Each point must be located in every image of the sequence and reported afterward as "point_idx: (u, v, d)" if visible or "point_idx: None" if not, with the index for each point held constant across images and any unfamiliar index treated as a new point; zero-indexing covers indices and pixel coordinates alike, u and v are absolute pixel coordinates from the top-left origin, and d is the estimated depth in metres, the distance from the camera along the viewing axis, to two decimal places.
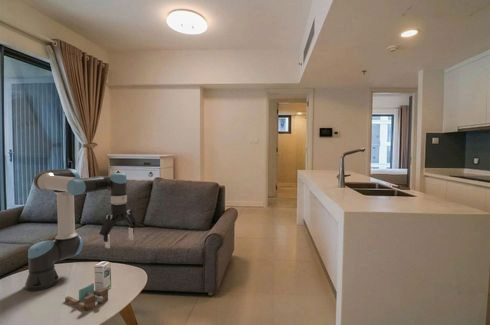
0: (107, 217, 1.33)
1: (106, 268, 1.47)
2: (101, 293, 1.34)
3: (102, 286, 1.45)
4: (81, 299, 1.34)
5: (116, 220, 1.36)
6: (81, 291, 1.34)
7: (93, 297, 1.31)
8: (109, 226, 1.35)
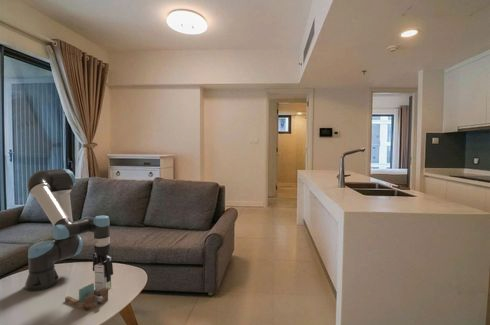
0: None
1: None
2: (101, 293, 1.34)
3: (102, 286, 1.45)
4: (81, 299, 1.34)
5: (97, 260, 1.47)
6: (81, 291, 1.34)
7: (93, 297, 1.31)
8: None
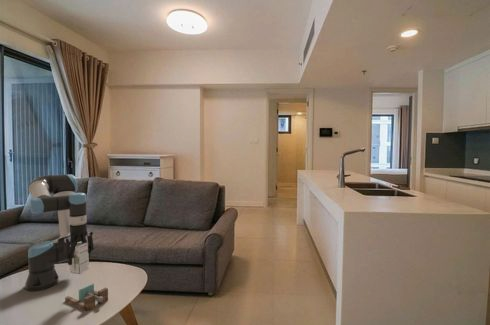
0: (65, 241, 1.32)
1: None
2: (101, 293, 1.34)
3: (87, 264, 1.40)
4: (81, 299, 1.34)
5: (76, 241, 1.35)
6: (81, 291, 1.34)
7: (93, 297, 1.31)
8: (71, 249, 1.35)
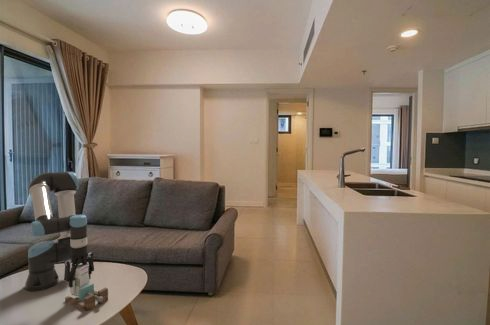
0: (66, 264, 1.32)
1: None
2: (101, 293, 1.34)
3: None
4: (81, 299, 1.34)
5: (77, 264, 1.36)
6: (81, 291, 1.34)
7: (93, 297, 1.31)
8: (72, 271, 1.35)
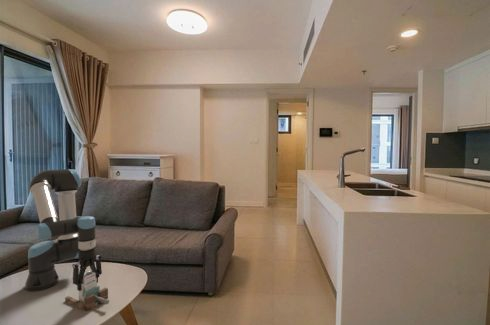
0: (74, 267, 1.29)
1: None
2: (101, 293, 1.34)
3: None
4: None
5: (85, 267, 1.33)
6: (87, 293, 1.32)
7: (93, 297, 1.31)
8: (80, 274, 1.32)
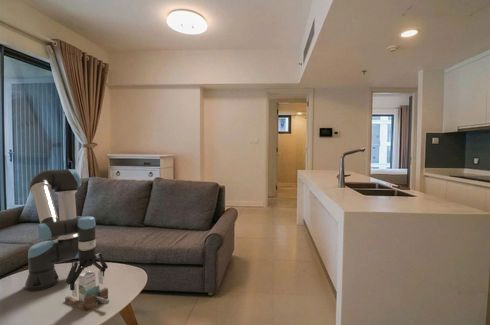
0: (74, 264, 1.29)
1: None
2: (101, 293, 1.34)
3: None
4: None
5: (84, 266, 1.32)
6: (87, 293, 1.32)
7: (93, 297, 1.31)
8: (76, 273, 1.30)
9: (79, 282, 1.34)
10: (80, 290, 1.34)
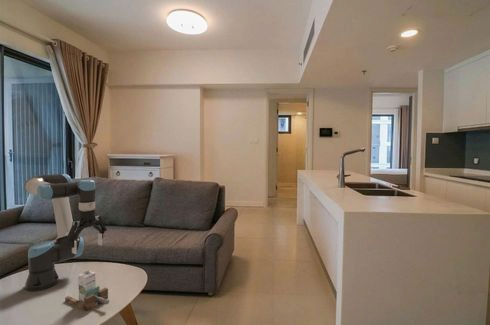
0: (74, 223, 1.35)
1: None
2: (101, 293, 1.34)
3: None
4: None
5: (83, 226, 1.38)
6: (87, 293, 1.32)
7: (93, 297, 1.31)
8: (76, 232, 1.37)
9: (79, 282, 1.34)
10: (80, 290, 1.34)
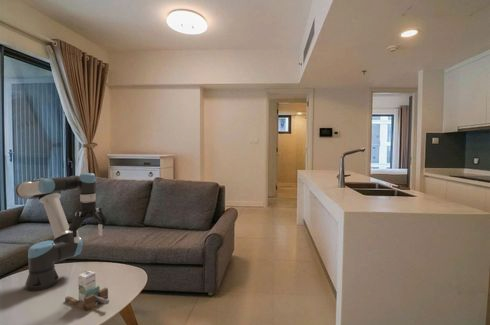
0: (76, 214, 1.43)
1: None
2: (101, 293, 1.34)
3: None
4: None
5: (85, 217, 1.47)
6: (87, 293, 1.32)
7: (93, 297, 1.31)
8: (78, 222, 1.45)
9: (79, 282, 1.34)
10: (80, 290, 1.34)
